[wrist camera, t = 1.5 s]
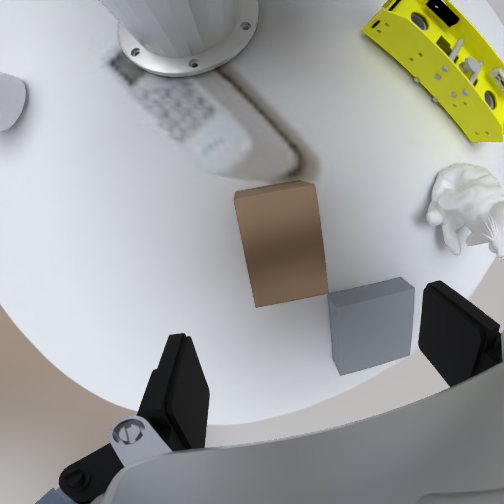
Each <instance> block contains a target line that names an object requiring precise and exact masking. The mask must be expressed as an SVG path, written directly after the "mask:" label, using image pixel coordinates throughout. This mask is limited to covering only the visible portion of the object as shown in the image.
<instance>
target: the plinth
mask: <svg viewBox="0 0 504 504" xmlns="http://www.w3.org/2000/svg"><path fill="white" fill-rule="evenodd" d="M414 294H415V288H414V287H413V286H411V285H410V284H409V283H408V282H406V281H405V280H404V279H403V278H401V277H399V278H395V279H391V280H387V281H382V282H378V283H374V284H370V285H366V286H362V287H357V288H353V289H348V290H344V291H339V292H335V293H330V294H328V300H329V312H330V324H331V338H332V353H333V361H334V363H335V365H336V367H337V370H338V372H339V374H340V376H341V375H345V374H349V373H353V372H356V371H360V370H364V369H367V368H371V367H374V366H377V365H381V364H384V363H387V362H390V361H394V360H397V359H400V358H403V357H406V356H409V355H410V348H411V338H412V327H413V313H414Z"/></svg>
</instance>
